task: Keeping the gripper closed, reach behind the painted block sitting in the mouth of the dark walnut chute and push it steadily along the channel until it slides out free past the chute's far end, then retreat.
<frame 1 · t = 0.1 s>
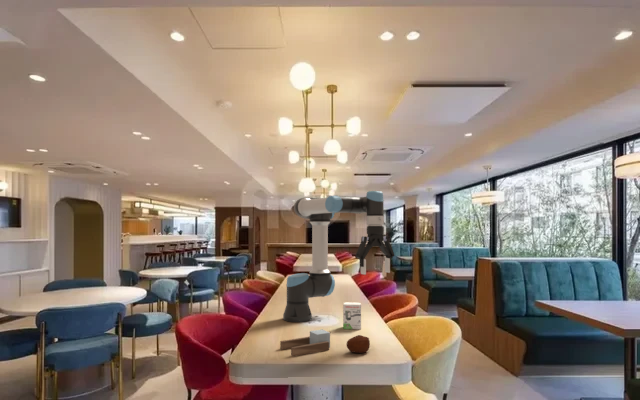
hand: (375, 273, 176), 28 cm above the table, fingers open, 13 cm apart
potato: (358, 353, 153), on the table
block: (319, 347, 160), on the table
ink box: (352, 328, 191), on the table
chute: (304, 349, 157), on the table
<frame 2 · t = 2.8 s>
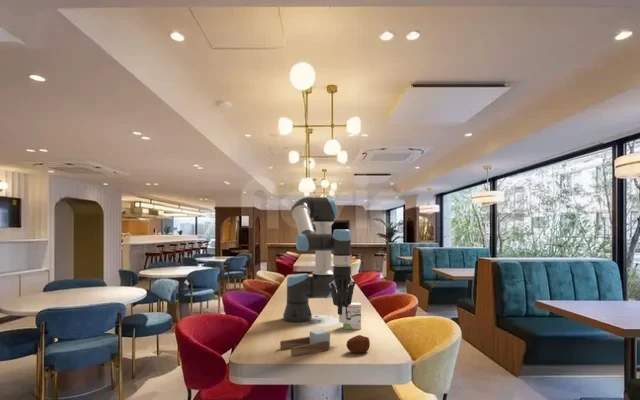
hand: (342, 322, 166), 9 cm above the table, fingers closed
nothing on the table moved.
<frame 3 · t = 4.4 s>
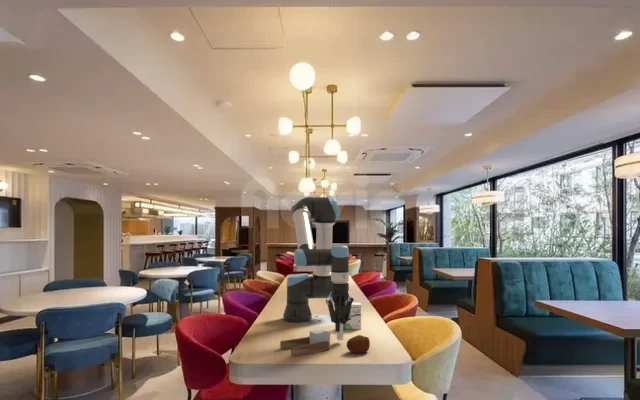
hand: (339, 339, 165), 2 cm above the table, fingers closed
nothing on the table moved.
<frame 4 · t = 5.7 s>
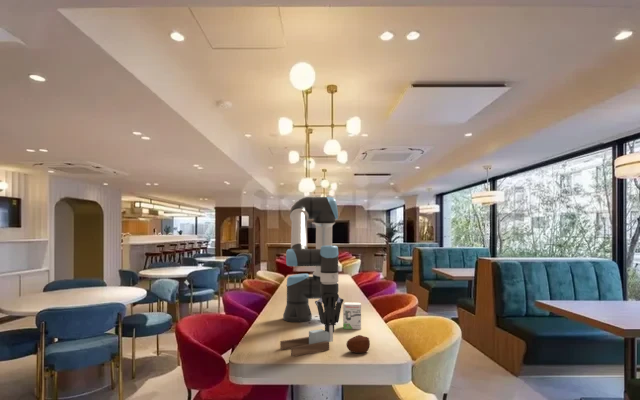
hand: (329, 340, 163), 2 cm above the table, fingers closed
block: (318, 346, 160), on the table, touching gripper
everything else where it was.
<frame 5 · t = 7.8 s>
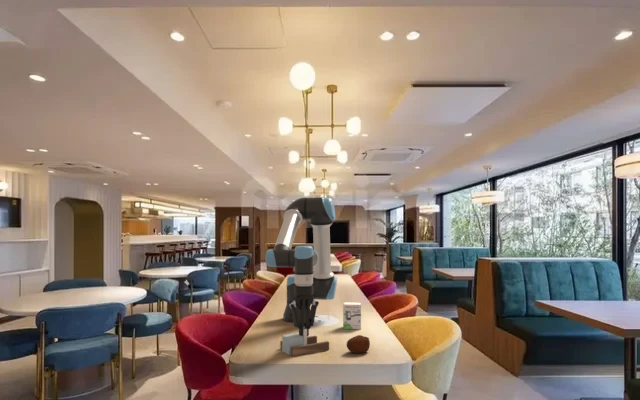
hand: (303, 345, 156), 2 cm above the table, fingers closed
block: (292, 351, 154), on the table, touching gripper
everything else where it was.
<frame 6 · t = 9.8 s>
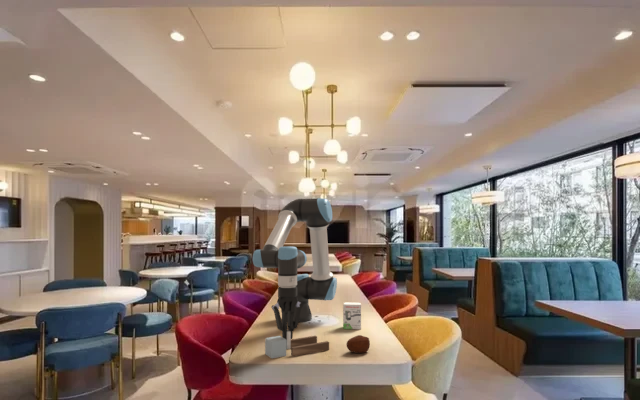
hand: (287, 348, 153), 2 cm above the table, fingers closed
block: (275, 354, 150), on the table, touching gripper
everything else where it was.
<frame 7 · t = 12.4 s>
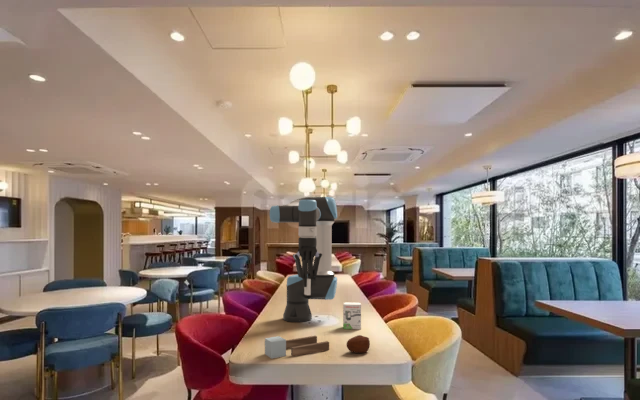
hand: (307, 294, 162), 21 cm above the table, fingers closed
block: (275, 355, 150), on the table
everything else where it was.
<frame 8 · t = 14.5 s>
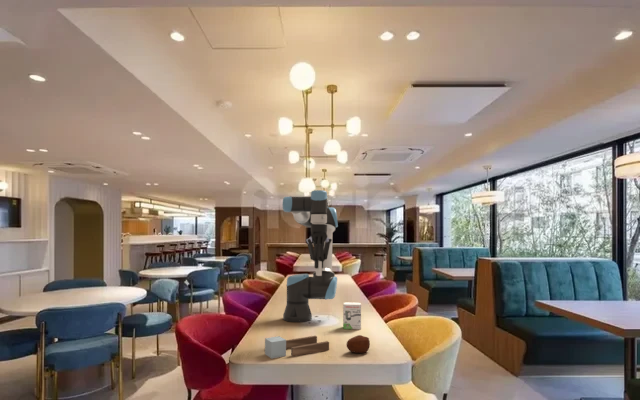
hand: (318, 275, 180), 26 cm above the table, fingers closed
nothing on the table moved.
at the end: block inside the target area (3.9 cm from its centre), on the table; block tilted 0° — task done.
